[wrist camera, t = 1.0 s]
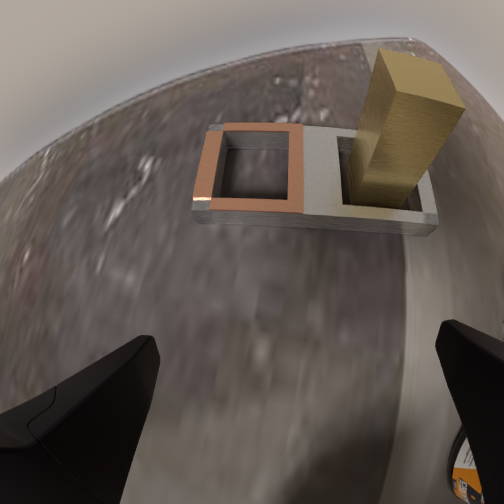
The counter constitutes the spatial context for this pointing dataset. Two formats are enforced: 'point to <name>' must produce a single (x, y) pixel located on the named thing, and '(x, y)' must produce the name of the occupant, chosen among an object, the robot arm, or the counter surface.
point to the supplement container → (464, 473)
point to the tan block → (400, 128)
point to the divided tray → (301, 184)
